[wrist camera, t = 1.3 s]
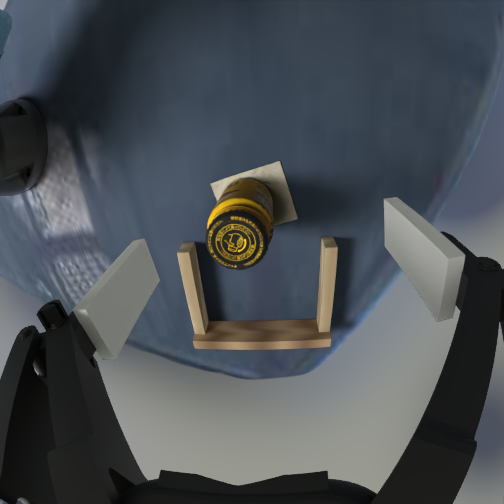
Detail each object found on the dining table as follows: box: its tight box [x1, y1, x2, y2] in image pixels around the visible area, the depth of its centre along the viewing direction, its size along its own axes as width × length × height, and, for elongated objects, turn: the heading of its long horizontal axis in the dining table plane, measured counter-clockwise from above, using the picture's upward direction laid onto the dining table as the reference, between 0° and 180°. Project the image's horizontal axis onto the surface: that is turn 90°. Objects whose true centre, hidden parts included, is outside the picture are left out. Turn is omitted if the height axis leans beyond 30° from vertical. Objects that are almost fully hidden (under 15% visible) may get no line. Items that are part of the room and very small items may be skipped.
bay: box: [177, 237, 338, 350], centre depth 38 cm, size 19×14×4 cm
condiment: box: [206, 161, 298, 270], centre depth 29 cm, size 7×8×12 cm
